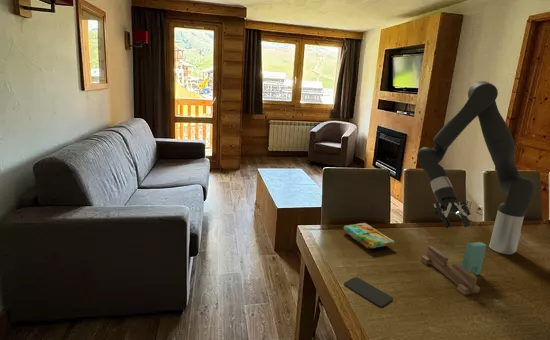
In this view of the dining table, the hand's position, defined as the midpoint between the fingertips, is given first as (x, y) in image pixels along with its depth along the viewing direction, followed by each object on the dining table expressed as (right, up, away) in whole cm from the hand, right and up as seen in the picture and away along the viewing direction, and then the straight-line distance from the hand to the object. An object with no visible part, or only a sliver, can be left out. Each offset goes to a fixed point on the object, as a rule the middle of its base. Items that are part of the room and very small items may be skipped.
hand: (458, 227), depth 128 cm
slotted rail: (-8, -16, -8) cm, 20 cm away
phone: (-41, -18, -20) cm, 49 cm away
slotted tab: (+1, -16, -5) cm, 17 cm away
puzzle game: (-31, -9, +17) cm, 36 cm away
